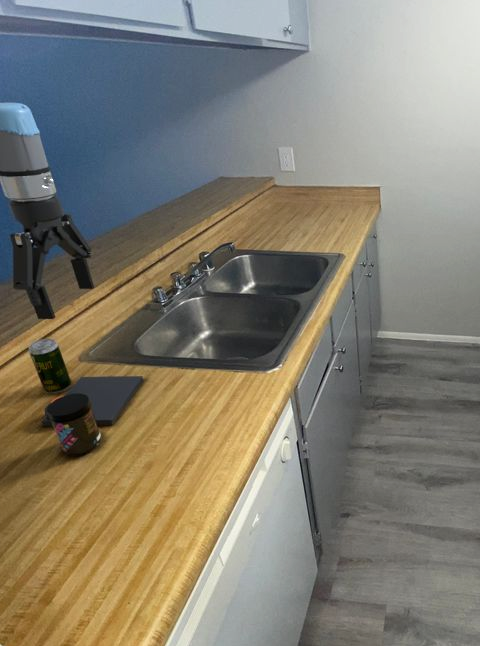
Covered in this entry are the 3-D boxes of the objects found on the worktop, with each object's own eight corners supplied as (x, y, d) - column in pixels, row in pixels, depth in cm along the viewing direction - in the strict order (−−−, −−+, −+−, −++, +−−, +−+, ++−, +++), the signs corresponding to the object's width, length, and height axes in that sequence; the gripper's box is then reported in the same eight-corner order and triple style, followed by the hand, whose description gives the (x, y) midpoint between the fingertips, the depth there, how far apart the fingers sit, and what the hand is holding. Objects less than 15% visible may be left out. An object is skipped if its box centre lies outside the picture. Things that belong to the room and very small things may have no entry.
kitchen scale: (42, 426, 99) (37, 415, 97) (82, 381, 113) (79, 371, 112) (112, 425, 100) (109, 414, 99) (143, 380, 114) (140, 370, 113)
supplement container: (65, 439, 96) (49, 398, 91) (104, 430, 99) (90, 390, 94) (60, 461, 91) (43, 419, 86) (101, 451, 93) (86, 410, 88)
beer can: (51, 381, 112) (34, 338, 107) (76, 380, 113) (61, 337, 108) (40, 395, 108) (22, 351, 102) (66, 393, 109) (49, 349, 103)
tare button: (50, 412, 99) (47, 405, 98) (58, 402, 102) (56, 396, 101) (66, 411, 99) (63, 405, 98) (74, 402, 102) (71, 395, 101)
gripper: (5, 216, 74) (48, 333, 84) (92, 182, 96) (118, 277, 106) (-45, 215, 74) (4, 333, 84) (54, 181, 96) (83, 277, 106)
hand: (68, 302), depth 95 cm, fingers open, 13 cm apart
